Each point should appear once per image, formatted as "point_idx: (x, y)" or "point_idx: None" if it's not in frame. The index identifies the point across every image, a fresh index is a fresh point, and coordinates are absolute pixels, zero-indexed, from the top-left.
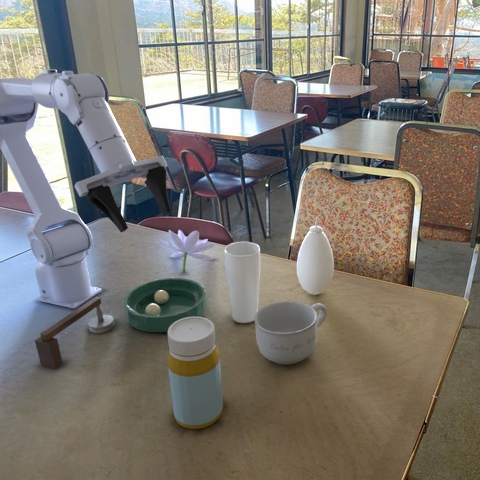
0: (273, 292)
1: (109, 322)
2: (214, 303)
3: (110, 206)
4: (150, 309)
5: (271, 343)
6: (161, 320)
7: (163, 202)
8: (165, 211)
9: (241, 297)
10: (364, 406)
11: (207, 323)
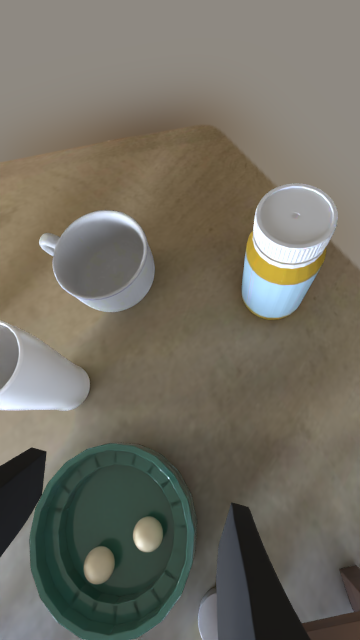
0: None
1: (216, 598)
2: (55, 467)
3: (292, 623)
4: (155, 530)
5: (150, 253)
6: (174, 472)
7: (15, 484)
8: (39, 475)
9: (68, 363)
10: (156, 175)
11: (264, 209)
